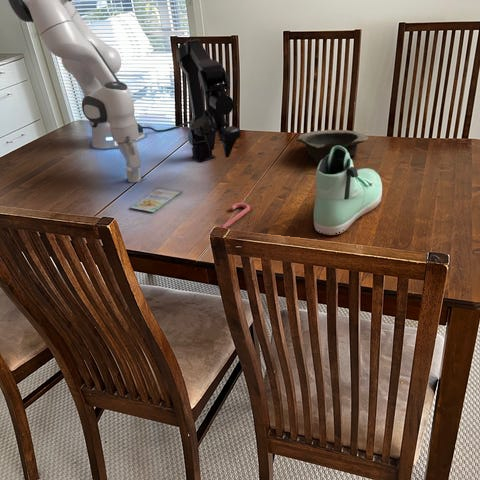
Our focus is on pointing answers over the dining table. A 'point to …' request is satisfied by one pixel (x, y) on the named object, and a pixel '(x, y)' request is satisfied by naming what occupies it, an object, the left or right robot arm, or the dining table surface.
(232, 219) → the candy cane
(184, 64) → the right robot arm
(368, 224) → the dining table surface
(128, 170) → the canister
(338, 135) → the stone bowl
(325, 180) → the sneaker
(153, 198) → the baking ingredient package
